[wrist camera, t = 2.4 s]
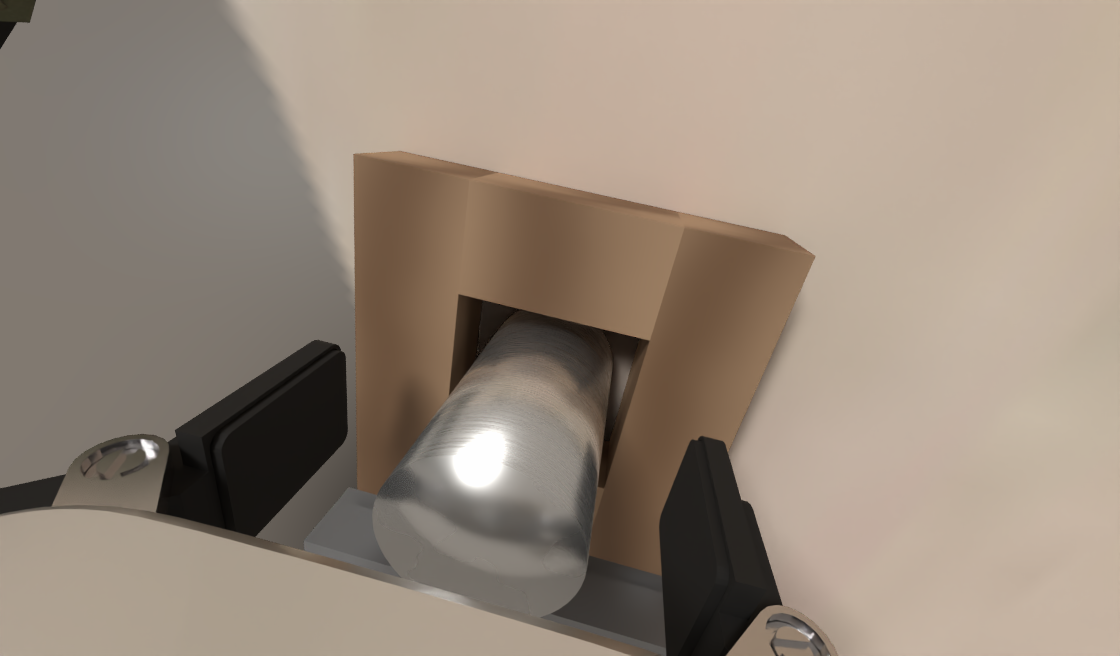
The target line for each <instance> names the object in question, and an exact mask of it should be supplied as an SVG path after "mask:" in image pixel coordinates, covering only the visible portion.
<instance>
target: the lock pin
mask: <svg viewBox="0 0 1120 656" xmlns="http://www.w3.org/2000/svg"><path fill="white" fill-rule="evenodd" d="M612 367H613V359H612V352H611V348H610V345H609V343H608V340H607V339H606V337H605V335H604V333H603V332H602V331H601V329H600V328H596V327H592V326H588V325H584V324H580V323H576V322H571V321H567V320H563V319H559V318H555V317H551V316H547V315H543V314H539V313H534V312H530V311H526V310H522V309H521V310H519V311H517V312H515V313H514V314H513V315H511V316H510V317H509V318H508V319H507V320H506V321H505V322H504V323H503V324H502V326H501V327H500V328H499V330H498V331H497V332H496V334H495V335H494V336H493V338H492V339H491V340H490V342H489V343H488V344H487V346H486V347H485V348H484V350H483V351H482V353H481V354H480V355H479V357H478V358H477V359H476V361H475V362H474V363H473V365H472V366H471V367H470V369H469V370H468V371H467V373H466V374H465V375H464V377H463V378H462V379H461V381H460V382H459V383H458V385H457V386H456V387H455V389H454V390H453V391H452V393H451V394H450V395H449V397H448V398H447V399H446V401H445V402H444V403H443V405H442V406H441V407H440V409H439V410H438V412H437V413H436V414H435V416H434V417H433V418H432V420H431V421H430V422H429V424H428V425H427V426H426V428H425V429H424V430H423V432H422V433H421V434H420V436H419V437H418V438H417V440H416V441H415V442H414V444H413V445H412V446H411V448H410V449H409V450H408V452H407V453H406V454H405V456H404V457H403V458H402V460H401V461H400V462H399V464H398V465H397V467H396V468H395V469H394V471H393V472H392V473H391V475H390V476H389V477H388V479H387V480H386V481H385V483H384V484H383V485H382V487H381V488H380V490H379V492H378V494H377V496H376V499H375V502H374V506H373V514H372V519H373V528H374V533H375V537H376V539H377V542H378V545H379V547H380V549H381V551H382V553H383V554H384V556H385V558H386V559H387V561H388V562H389V563H390V565H391V566H392V568H393V569H394V570H395V571H396V572H397V573H398V574H399V576H400V577H402V578H403V579H407V580H410V581H414V582H417V583H421V584H424V585H428V586H431V587H435V588H438V589H442V590H445V591H449V592H452V593H456V594H459V595H463V596H467V597H470V598H474V599H477V600H480V601H484V602H487V603H491V604H494V605H498V606H501V607H505V608H508V609H512V610H515V611H518V612H522V613H525V614H529V615H532V616H536V617H539V618H540V617H543V616H545V615H548V614H551V613H553V612H555V611H557V610H558V609H560V608H562V607H563V606H564V605H566V604H567V603H568V602H569V601H570V600H571V599H572V598H573V597H574V596H575V595H576V594H577V592H578V591H579V589H580V588H581V586H582V583H583V581H584V579H585V575H586V571H587V565H588V557H589V549H590V541H591V533H592V525H593V518H594V510H595V502H596V494H597V486H598V478H599V470H600V463H601V455H602V447H603V439H604V431H605V423H606V415H607V407H608V400H609V392H610V384H611V376H612Z"/></svg>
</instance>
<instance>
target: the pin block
mask: <svg viewBox="0 0 1120 656" xmlns="http://www.w3.org/2000/svg"><path fill="white" fill-rule="evenodd" d="M354 242H355V330H356V331H355V335H356V424H357V425H356V426H357V490H361V491H364V492H368V493H371V494H375V495H377V494H378V492H379V490H380V488H381V487H382V485H383V484H384V483H385V481H386V480H387V479H388V477H389V476H390V475H391V473H392V472H393V471H394V469H395V468H396V467H397V465H398V464H399V462H400V461H401V460H402V458H403V457H404V456H405V454H406V453H407V452H408V450H409V449H410V448H411V446H412V445H413V444H414V442H415V441H416V440H417V438H418V437H419V436H420V434H421V433H422V432H423V430H424V429H425V428H426V426H427V425H428V424H429V422H430V421H431V420H432V418H433V417H434V416H435V414H436V413H437V412H438V410H439V409H440V407H441V406H442V405H443V403H444V402H445V401H446V399H447V398H448V397H449V395H450V394H451V393H452V391H453V390H454V389H455V387H456V386H457V385H458V383H459V382H460V381H461V379H462V378H463V377H464V375H465V374H466V373H467V371H468V370H469V369H470V367H471V366H472V365H473V363H474V362H475V358H476V350H477V342H478V334H479V325H480V317H481V309H482V300H485V301H489V302H493V303H497V304H501V305H506V306H510V307H514V308H518V309H522V310H526V311H530V312H534V313H539V314H543V315H547V316H551V317H555V318H559V319H563V320H567V321H571V322H576V323H580V324H584V325H588V326H592V327H596V328H600V329H604V330H608V331H613V332H617V333H621V334H625V335H629V336H633V337H637V338H640V340H639V343H638V346H637V350H636V353H635V357H634V360H633V363H632V367H631V370H630V373H629V377H628V380H627V384H626V387H625V390H624V394H623V397H622V400H621V404H620V407H619V411H618V414H617V417H616V421H615V424H614V428H613V431H612V434H611V438H610V441H609V442H608V441H605V440H603V447H602V455H601V463H600V470H599V478H598V486H597V494H596V502H595V510H594V518H593V525H592V533H591V541H590V549H589V556H593V557H596V558H600V559H603V560H607V561H610V562H614V563H618V564H621V565H625V566H628V567H632V568H635V569H639V570H642V571H646V572H649V573H653V574H656V575H660V576H662V571H661V554H660V537H659V521H660V516H661V513H662V510H663V508H664V505H665V503H666V500H667V498H668V495H669V493H670V490H671V488H672V485H673V482H674V480H675V477H676V475H677V472H678V470H679V467H680V465H681V462H682V460H683V457H684V455H685V452H686V450H687V447H688V445H689V442H690V441H691V440H692V439H693V440H698V438H699V437H700V436H705V437H709V438H713V439H717V440H721V441H723V442H724V443H725V445H726V448H727V452H728V451H729V449H730V447H731V445H732V442H733V440H734V438H735V436H736V433H737V431H738V429H739V427H740V424H741V422H742V420H743V418H744V416H745V413H746V411H747V409H748V407H749V404H750V402H751V400H752V398H753V395H754V393H755V391H756V389H757V386H758V384H759V382H760V380H761V377H762V375H763V373H764V371H765V368H766V366H767V364H768V362H769V359H770V357H771V355H772V353H773V350H774V348H775V346H776V344H777V341H778V339H779V337H780V335H781V333H782V330H783V328H784V326H785V324H786V321H787V319H788V317H789V315H790V312H791V310H792V308H793V306H794V303H795V301H796V299H797V297H798V294H799V292H800V290H801V288H802V285H803V283H804V281H805V279H806V276H807V274H808V272H809V270H810V267H811V265H812V263H813V261H814V259H815V256H814V255H813V254H811V253H810V252H809V251H807V250H806V249H804V248H803V247H801V246H800V245H798V244H797V243H795V242H794V241H792V240H791V239H790V238H788V237H787V236H785V235H781V234H776V233H772V232H767V231H762V230H758V229H753V228H749V227H744V226H740V225H735V224H730V223H726V222H721V221H717V220H712V219H708V218H703V217H699V216H694V215H689V214H685V213H680V212H676V211H671V210H667V209H662V208H657V207H653V206H648V205H644V204H639V203H635V202H630V201H626V200H621V199H616V198H612V197H607V196H603V195H598V194H594V193H589V192H584V191H580V190H575V189H571V188H566V187H562V186H557V185H553V184H548V183H543V182H539V181H534V180H530V179H525V178H521V177H516V176H512V175H507V174H502V173H498V172H493V171H489V170H484V169H480V168H475V167H470V166H466V165H461V164H457V163H452V162H448V161H443V160H439V159H434V158H429V157H425V156H420V155H416V154H411V153H407V152H402V151H395V152H377V153H360V154H354Z"/></svg>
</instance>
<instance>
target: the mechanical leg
mask: <svg viewBox="0 0 1120 656" xmlns="http://www.w3.org/2000/svg"><path fill="white" fill-rule="evenodd" d="M35 1H36V0H0V49H1V47H2V45H3V44H4V42H5V41H6V39H7V37H8V36H9V34H10V33H11V31H12V30H13V28H14V26H15V25H16V23H17V22H28V23H29V22H30V19H31V16H32V12H33V9H34V5H35Z"/></svg>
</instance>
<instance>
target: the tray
mask: <svg viewBox="0 0 1120 656" xmlns="http://www.w3.org/2000/svg"><path fill="white" fill-rule="evenodd" d="M376 496H377V495H375V494H371V493H368V492H364V491H361V490H357V489H355V488H351V487H348V488H347V490H346V491H345V492H344V493H343V495H342V496H341V497H340V498H339V499H338V500H337V502H336V503H335V504H334V505H333V506H332V508H331V509H330V510H329V511H328V512H327V514H326V515H325V516H324V517H323V518H322V519H321V521H320V522H319V523H318V524H317V525H316V527H315V528H314V529H313V530H312V531H311V533H310V534H309V535H308V536H307V537H306V538H305V540H304V551H307V552H310V553H314V554H317V555H321V556H325V557H328V558H332V559H336V560H339V561H343V562H346V563H350V564H353V565H357V566H361V567H364V568H368V569H371V570H375V571H378V572H382V573H385V574H389V575H392V576H396V577H400V576H399V574H398V573H397V572H396V571H395V570H394V569H393V568H392V566H391V565H390V563H389V562H388V561H387V559H386V558H385V556H384V554H383V553H382V551H381V549H380V547H379V545H378V542H377V539H376V537H375V533H374V528H373V519H372V514H373V506H374V502H375V499H376ZM400 578H402V577H400ZM540 618H543V619H546V620H550V621H553V622H556V623H560V624H563V625H567V626H570V627H574V628H577V629H580V630H584V631H587V632H590V633H593V634H597V635H600V636H603V637H606V638H610V639H613V640H616V641H619V642H623V643H626V644H629V645H632V646H636V647H639V648H642V649H645V650H648V651H651V652H654V653H657V654H659V655H662V656H666V640H665V623H664V606H663V589H662V576H660V575H656V574H653V573H649V572H646V571H642V570H639V569H635V568H632V567H628V566H625V565H621V564H618V563H614V562H610V561H607V560H603V559H600V558H596V557H593V556H589V557H588V565H587V571H586V575H585V579H584V581H583V583H582V586H581V588H580V589H579V591H578V592H577V594H576V595H575V596H574V597H573V598H572V599H571V600H570V601H569V602H568V603H567V604H566V605H564V606H563V607H562V608H560V609H558V610H557V611H555V612H553V613H551V614H548V615H545V616H543V617H540Z"/></svg>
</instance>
